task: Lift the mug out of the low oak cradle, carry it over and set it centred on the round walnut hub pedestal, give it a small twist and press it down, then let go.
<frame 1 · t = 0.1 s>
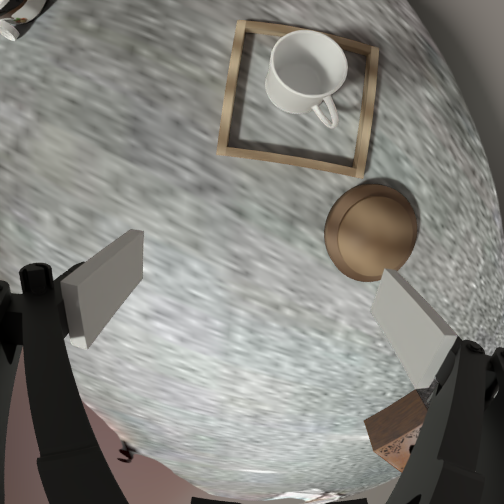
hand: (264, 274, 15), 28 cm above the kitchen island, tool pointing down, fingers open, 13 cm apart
cradle: (300, 95, 36), on the kitchen island
tissue box cover: (404, 422, 60), on the kitchen island
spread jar: (30, 17, 29), on the kitchen island
hub: (370, 232, 43), on the kitchen island
mug: (300, 95, 37), resting in cradle
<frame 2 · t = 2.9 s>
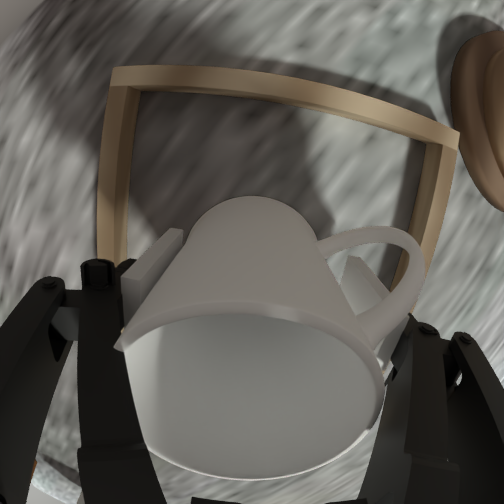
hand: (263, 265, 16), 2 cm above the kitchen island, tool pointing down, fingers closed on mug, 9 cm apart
cradle: (265, 253, 18), on the kitchen island
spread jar: (115, 498, 36), on the kitchen island
mug: (276, 252, 18), resting in cradle, touching gripper
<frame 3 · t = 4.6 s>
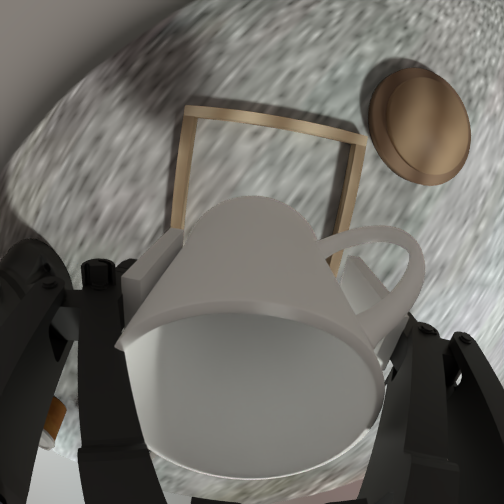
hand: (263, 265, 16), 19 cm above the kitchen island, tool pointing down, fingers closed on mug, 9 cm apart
cradle: (263, 203, 34), on the kitchen island
hub: (420, 126, 30), on the kitchen island
mug: (276, 252, 18), point 17 cm above the kitchen island, touching gripper
disposable coffee cup: (56, 403, 50), on the kitchen island
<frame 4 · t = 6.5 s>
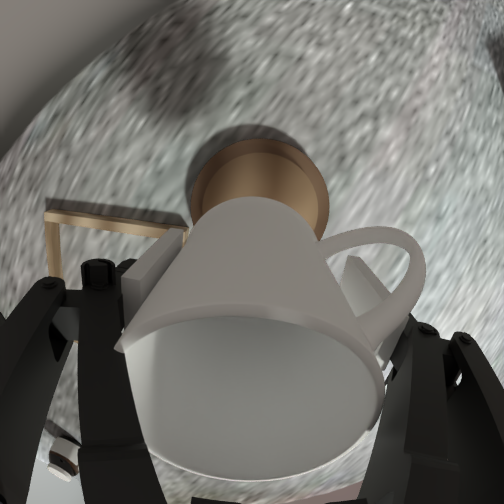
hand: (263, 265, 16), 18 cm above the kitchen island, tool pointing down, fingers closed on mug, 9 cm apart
cradle: (113, 288, 37), on the kitchen island
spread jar: (79, 447, 55), on the kitchen island
hub: (260, 205, 33), on the kitchen island
mug: (276, 253, 18), point 16 cm above the kitchen island, touching gripper
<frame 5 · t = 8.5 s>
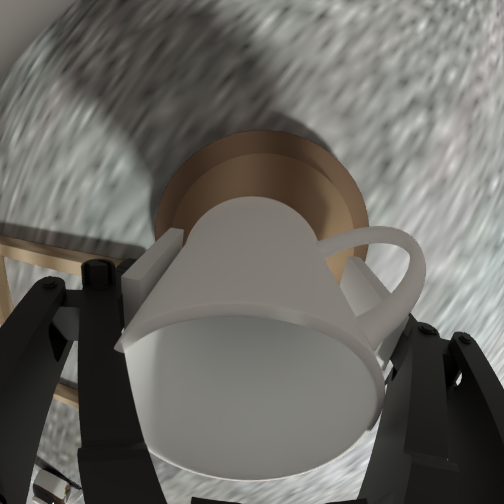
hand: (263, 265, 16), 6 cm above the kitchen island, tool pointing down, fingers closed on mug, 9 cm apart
cradle: (70, 337, 26), on the kitchen island
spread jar: (65, 479, 43), on the kitchen island
hub: (262, 235, 22), on the kitchen island
mug: (276, 253, 18), point 4 cm above the kitchen island, touching gripper
when the fingers open (5 cm above the kitchen island, at t = 9.9 s): mug stays where it is, resting on hub.
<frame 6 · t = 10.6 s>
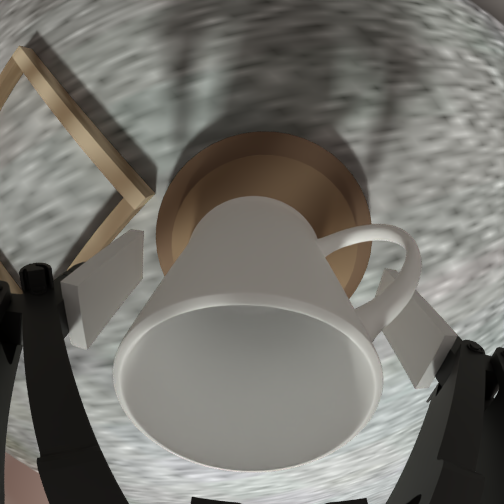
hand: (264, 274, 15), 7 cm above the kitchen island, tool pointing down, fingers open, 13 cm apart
cradle: (21, 194, 21), on the kitchen island
hub: (264, 237, 22), on the kitchen island
mug: (277, 251, 19), point 3 cm above the kitchen island, touching hub
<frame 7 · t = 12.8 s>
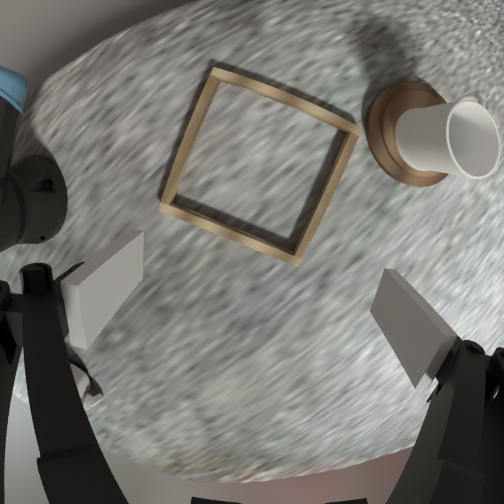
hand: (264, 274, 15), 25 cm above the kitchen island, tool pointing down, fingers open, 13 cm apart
cradle: (258, 165, 37), on the kitchen island
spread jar: (85, 379, 53), on the kitchen island
hub: (413, 133, 35), on the kitchen island
mug: (426, 131, 32), point 3 cm above the kitchen island, touching hub
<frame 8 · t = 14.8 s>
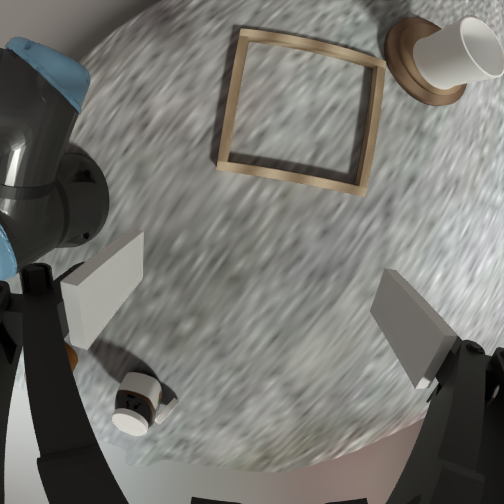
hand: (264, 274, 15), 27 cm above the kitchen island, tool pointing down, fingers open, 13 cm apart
cradle: (304, 109, 36), on the kitchen island
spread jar: (154, 388, 54), on the kitchen island
hub: (425, 61, 32), on the kitchen island
mug: (437, 56, 29), point 3 cm above the kitchen island, touching hub
disposable coffee cup: (67, 353, 52), on the kitchen island
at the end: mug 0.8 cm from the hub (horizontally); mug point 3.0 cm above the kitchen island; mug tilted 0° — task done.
